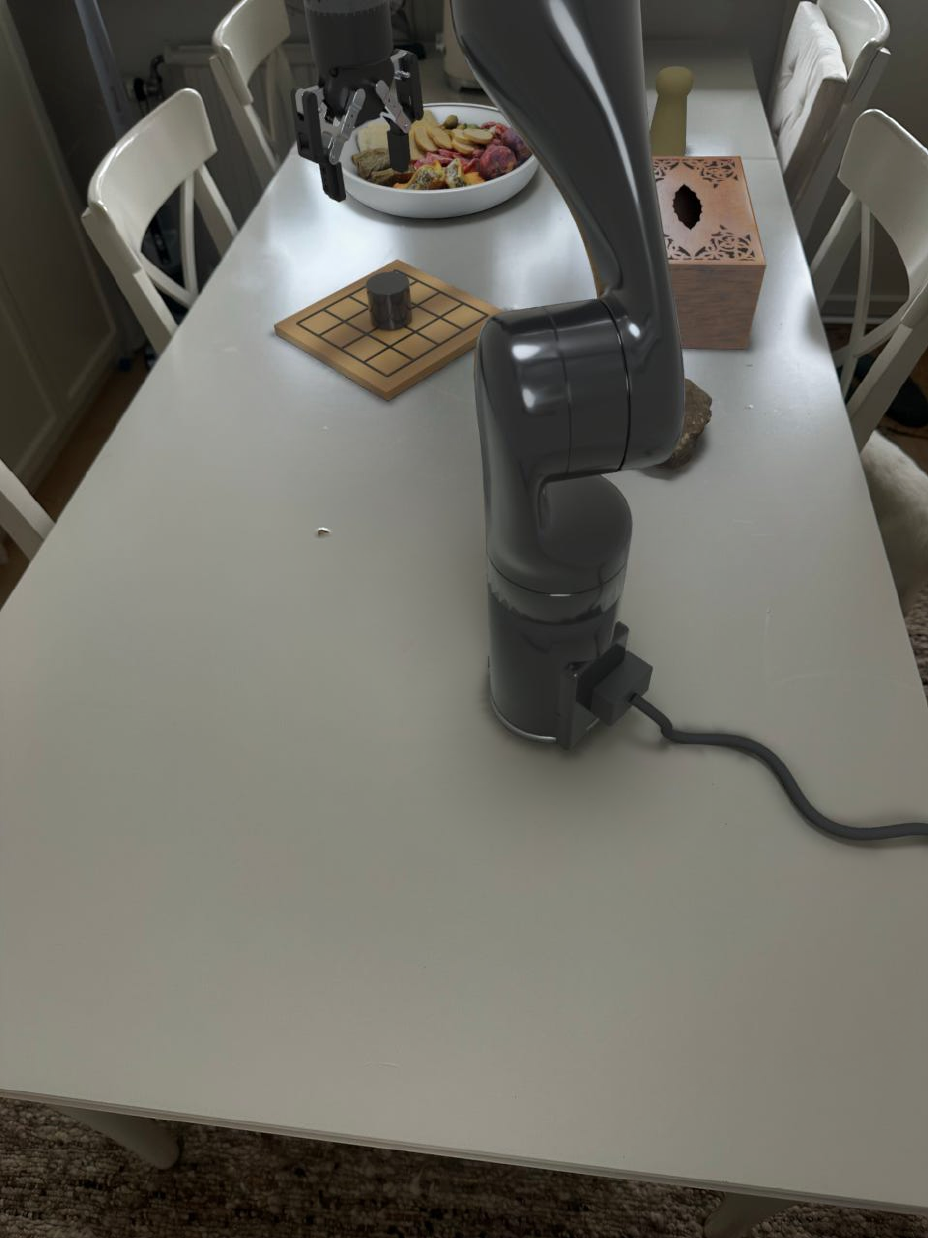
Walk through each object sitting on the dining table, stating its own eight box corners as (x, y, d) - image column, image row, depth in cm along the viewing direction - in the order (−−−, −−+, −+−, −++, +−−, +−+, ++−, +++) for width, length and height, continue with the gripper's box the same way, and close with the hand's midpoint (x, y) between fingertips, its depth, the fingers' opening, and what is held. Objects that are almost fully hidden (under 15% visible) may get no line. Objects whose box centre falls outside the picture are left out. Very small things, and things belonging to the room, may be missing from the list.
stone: (675, 488, 84) (692, 440, 79) (546, 436, 87) (555, 387, 83) (710, 434, 90) (727, 387, 85) (588, 388, 93) (598, 340, 89)
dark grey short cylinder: (421, 316, 102) (418, 281, 98) (390, 335, 100) (385, 299, 96) (393, 302, 104) (388, 266, 101) (361, 319, 102) (356, 283, 98)
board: (511, 323, 102) (511, 313, 101) (387, 401, 94) (385, 390, 93) (398, 267, 112) (397, 257, 111) (275, 333, 103) (273, 323, 102)
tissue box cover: (613, 235, 115) (621, 156, 107) (724, 235, 113) (740, 155, 106) (616, 346, 98) (625, 263, 91) (746, 349, 97) (766, 264, 89)
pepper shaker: (637, 148, 131) (645, 66, 122) (671, 139, 132) (682, 57, 124) (659, 163, 127) (669, 80, 119) (693, 154, 129) (706, 71, 120)
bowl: (312, 223, 120) (301, 165, 114) (365, 133, 139) (358, 78, 133) (525, 234, 116) (526, 173, 110) (551, 139, 134) (553, 83, 128)
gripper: (308, 24, 71) (339, 221, 83) (433, -18, 77) (444, 170, 90) (254, 8, 75) (292, 198, 87) (377, -31, 81) (396, 152, 93)
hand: (369, 184), depth 88 cm, fingers open, 8 cm apart
